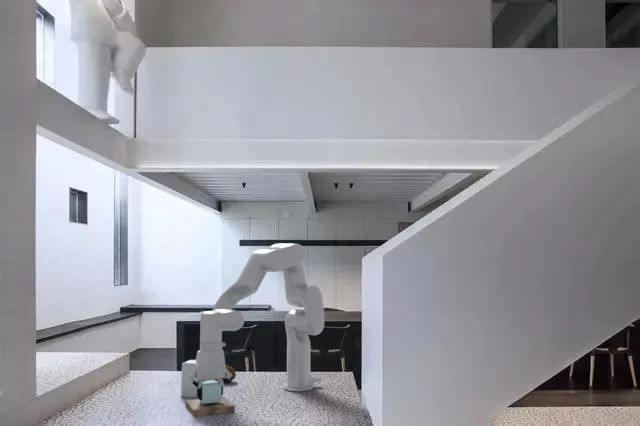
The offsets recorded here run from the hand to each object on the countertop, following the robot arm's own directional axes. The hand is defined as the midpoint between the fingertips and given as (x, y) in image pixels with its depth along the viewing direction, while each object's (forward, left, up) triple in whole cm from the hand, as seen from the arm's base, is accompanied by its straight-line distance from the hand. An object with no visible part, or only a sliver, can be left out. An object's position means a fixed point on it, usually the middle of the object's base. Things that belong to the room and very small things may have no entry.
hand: (210, 398), depth 194 cm
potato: (-14, -38, -4) cm, 41 cm away
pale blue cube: (0, 0, -1) cm, 1 cm away
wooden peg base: (0, 0, -4) cm, 4 cm away
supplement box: (+1, -22, -4) cm, 22 cm away
